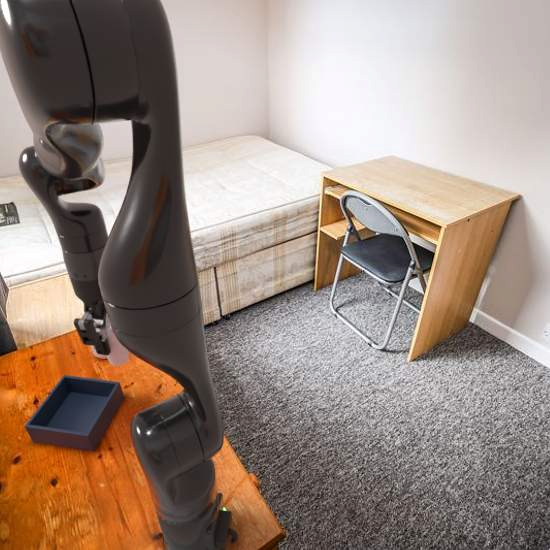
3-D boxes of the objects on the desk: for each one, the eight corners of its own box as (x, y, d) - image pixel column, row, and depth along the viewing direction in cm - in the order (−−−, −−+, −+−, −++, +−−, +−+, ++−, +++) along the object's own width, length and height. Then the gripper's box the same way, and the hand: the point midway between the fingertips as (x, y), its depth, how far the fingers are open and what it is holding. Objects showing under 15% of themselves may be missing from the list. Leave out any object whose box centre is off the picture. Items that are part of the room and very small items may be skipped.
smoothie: (141, 348, 78) (128, 293, 70) (128, 372, 73) (112, 315, 65) (110, 346, 78) (94, 291, 71) (96, 370, 73) (76, 313, 65)
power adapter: (118, 328, 106) (113, 312, 103) (133, 332, 105) (129, 316, 102) (91, 357, 97) (85, 340, 94) (107, 361, 96) (102, 344, 93)
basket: (124, 397, 88) (119, 382, 85) (94, 451, 77) (87, 436, 74) (70, 390, 89) (63, 374, 86) (33, 442, 78) (24, 426, 75)
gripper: (91, 294, 57) (114, 371, 66) (133, 246, 69) (148, 317, 78) (44, 289, 58) (74, 366, 67) (93, 243, 70) (113, 314, 79)
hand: (113, 340), depth 73 cm, fingers closed on smoothie, 6 cm apart
